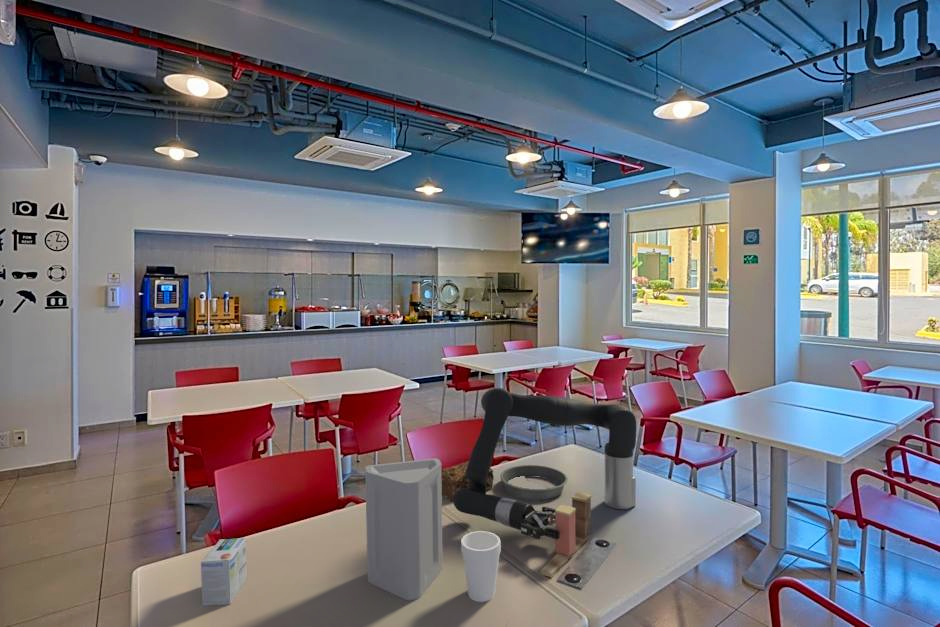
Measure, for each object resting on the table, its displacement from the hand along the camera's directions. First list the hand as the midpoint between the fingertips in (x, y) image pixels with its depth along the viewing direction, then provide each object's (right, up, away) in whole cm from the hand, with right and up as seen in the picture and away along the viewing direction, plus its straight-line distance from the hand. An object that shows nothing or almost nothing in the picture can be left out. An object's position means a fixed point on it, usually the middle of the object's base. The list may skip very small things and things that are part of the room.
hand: (565, 529), depth 133 cm
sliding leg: (0, -6, 0) cm, 6 cm away
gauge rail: (+1, -7, +1) cm, 8 cm away
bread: (-28, -6, +44) cm, 53 cm away
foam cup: (-23, -9, -16) cm, 30 cm away
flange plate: (+6, -8, -2) cm, 10 cm away
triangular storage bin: (-42, -9, -11) cm, 44 cm away
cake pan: (-3, -6, +47) cm, 48 cm away
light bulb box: (-86, -9, -14) cm, 87 cm away
